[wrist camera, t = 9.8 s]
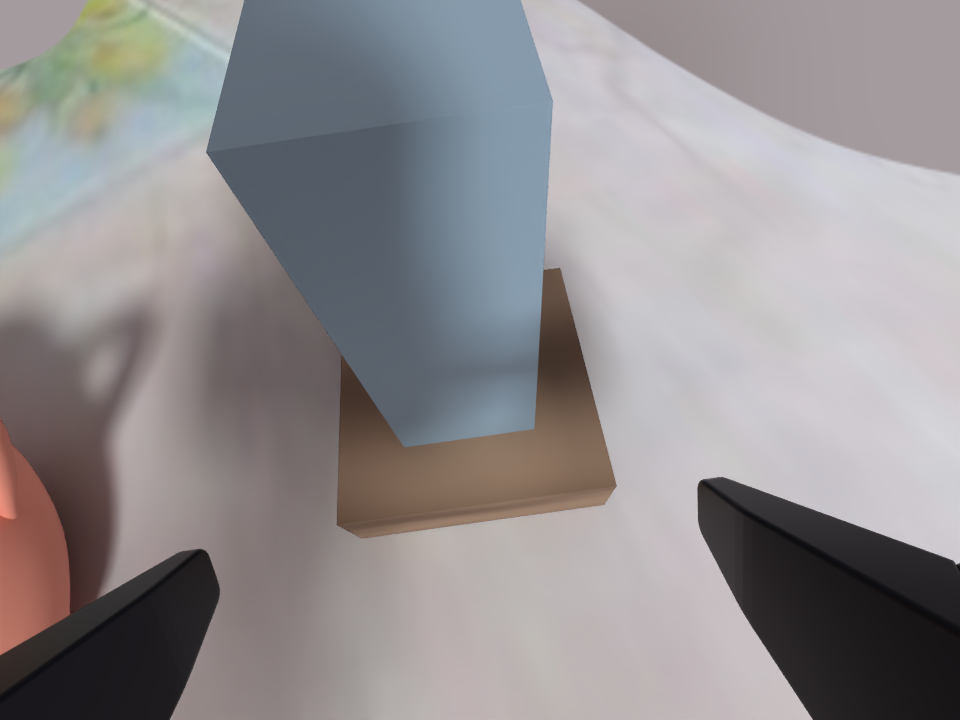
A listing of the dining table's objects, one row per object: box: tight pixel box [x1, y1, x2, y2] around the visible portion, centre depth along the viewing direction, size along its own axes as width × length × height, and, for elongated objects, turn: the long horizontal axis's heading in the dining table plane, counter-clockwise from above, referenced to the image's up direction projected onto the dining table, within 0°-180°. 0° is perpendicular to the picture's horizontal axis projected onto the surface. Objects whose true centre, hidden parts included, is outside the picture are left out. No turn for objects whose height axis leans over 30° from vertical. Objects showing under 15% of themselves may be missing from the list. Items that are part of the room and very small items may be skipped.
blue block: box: [206, 0, 553, 447], centre depth 14 cm, size 5×5×13 cm
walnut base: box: [337, 268, 616, 538], centre depth 21 cm, size 10×10×3 cm
